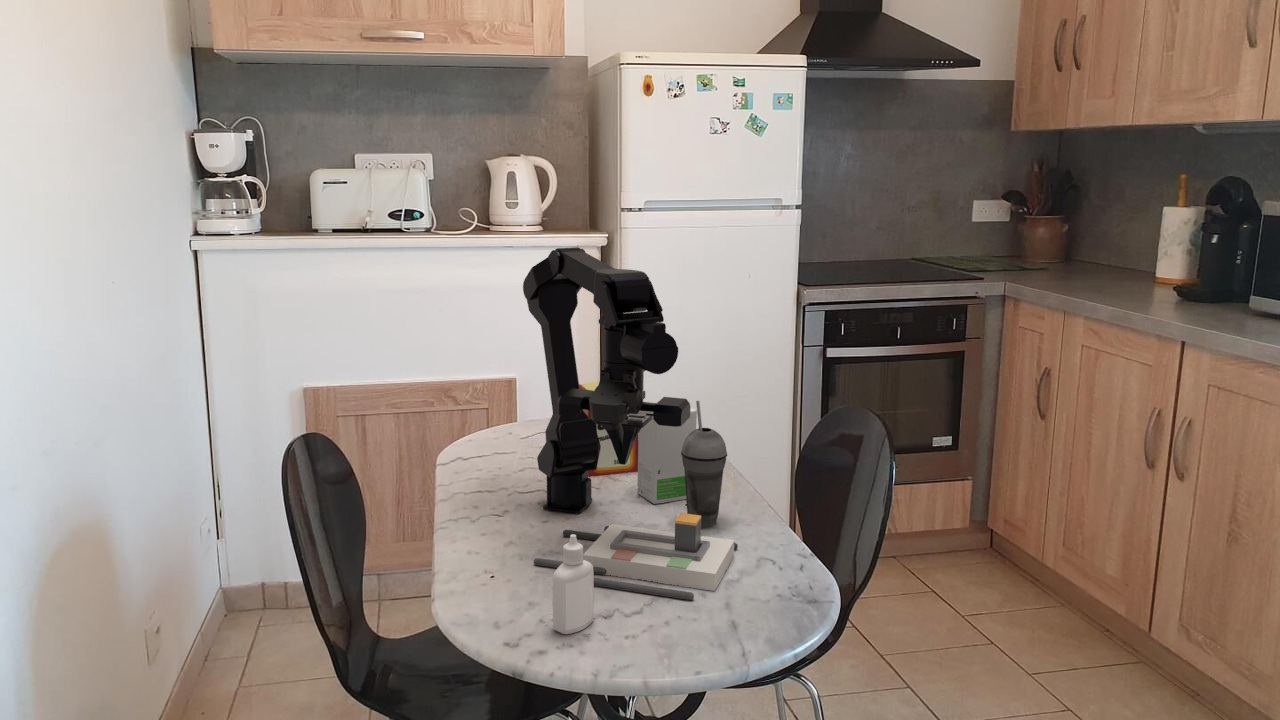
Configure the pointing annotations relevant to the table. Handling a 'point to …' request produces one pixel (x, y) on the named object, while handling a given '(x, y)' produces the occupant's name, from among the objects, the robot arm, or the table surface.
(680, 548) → the breaker toggle
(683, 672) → the table surface
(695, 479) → the beverage cup
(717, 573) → the breaker switch base
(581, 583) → the eye dropper bottle
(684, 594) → the rod
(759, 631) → the table surface
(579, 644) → the table surface
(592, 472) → the baking soda box
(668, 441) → the skincare box
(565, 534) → the rod
